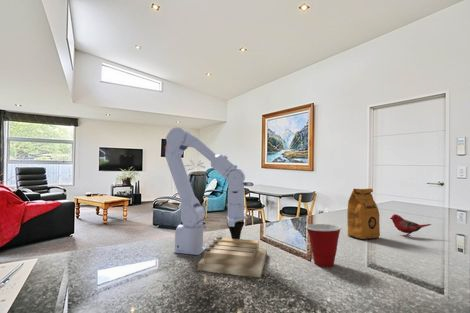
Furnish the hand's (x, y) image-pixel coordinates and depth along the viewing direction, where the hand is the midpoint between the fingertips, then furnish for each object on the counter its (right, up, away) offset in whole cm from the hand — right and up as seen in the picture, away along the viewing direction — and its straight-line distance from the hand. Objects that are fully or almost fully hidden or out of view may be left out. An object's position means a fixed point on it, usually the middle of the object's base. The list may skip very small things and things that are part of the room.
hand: (235, 243), depth 86 cm
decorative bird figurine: (+81, -7, +28) cm, 86 cm away
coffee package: (+58, -7, +25) cm, 63 cm away
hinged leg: (0, -1, -2) cm, 2 cm away
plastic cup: (+28, -4, -8) cm, 29 cm away
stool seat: (0, -3, -8) cm, 8 cm away
